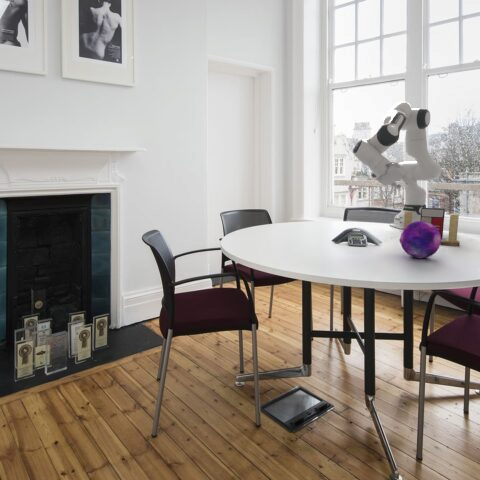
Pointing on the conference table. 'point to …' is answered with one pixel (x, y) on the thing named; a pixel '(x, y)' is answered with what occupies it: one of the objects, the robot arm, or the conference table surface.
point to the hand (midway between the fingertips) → (404, 185)
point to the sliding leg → (408, 218)
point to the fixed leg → (453, 228)
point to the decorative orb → (420, 239)
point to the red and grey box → (434, 217)
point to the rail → (448, 243)
